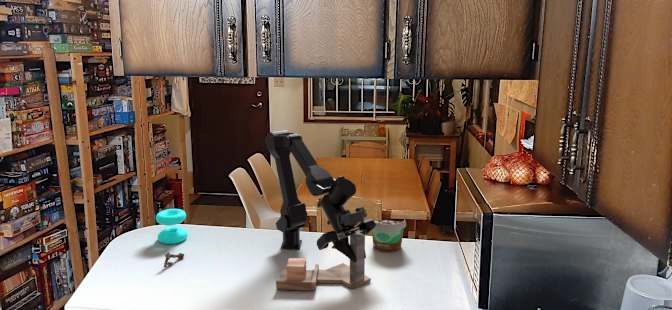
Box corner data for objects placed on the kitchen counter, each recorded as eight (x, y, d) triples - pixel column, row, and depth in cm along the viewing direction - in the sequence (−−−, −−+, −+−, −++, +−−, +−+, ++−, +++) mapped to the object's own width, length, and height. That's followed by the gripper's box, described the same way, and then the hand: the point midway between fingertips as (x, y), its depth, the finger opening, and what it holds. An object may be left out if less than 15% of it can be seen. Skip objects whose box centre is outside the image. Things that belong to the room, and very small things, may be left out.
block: (289, 273, 149) (288, 258, 148) (306, 274, 149) (305, 258, 147) (286, 282, 144) (286, 266, 143) (304, 282, 144) (304, 266, 143)
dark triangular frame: (160, 266, 154) (163, 252, 155) (177, 266, 162) (179, 252, 162) (164, 267, 154) (167, 253, 154) (181, 267, 161) (184, 253, 162)
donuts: (185, 206, 180) (186, 215, 171) (187, 232, 182) (188, 243, 173) (155, 209, 177) (155, 219, 167) (157, 236, 179) (158, 247, 170)
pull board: (261, 280, 147) (259, 233, 144) (326, 256, 162) (326, 213, 158) (302, 310, 132) (301, 258, 128) (370, 281, 146) (371, 234, 143)
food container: (366, 252, 166) (367, 223, 163) (369, 244, 172) (369, 216, 169) (404, 255, 164) (405, 226, 161) (405, 247, 169) (406, 219, 167)
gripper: (322, 206, 137) (348, 258, 131) (372, 192, 148) (398, 239, 143) (305, 225, 145) (329, 274, 139) (354, 210, 156) (378, 255, 151)
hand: (360, 260), depth 143 cm, fingers closed on pull board, 3 cm apart
